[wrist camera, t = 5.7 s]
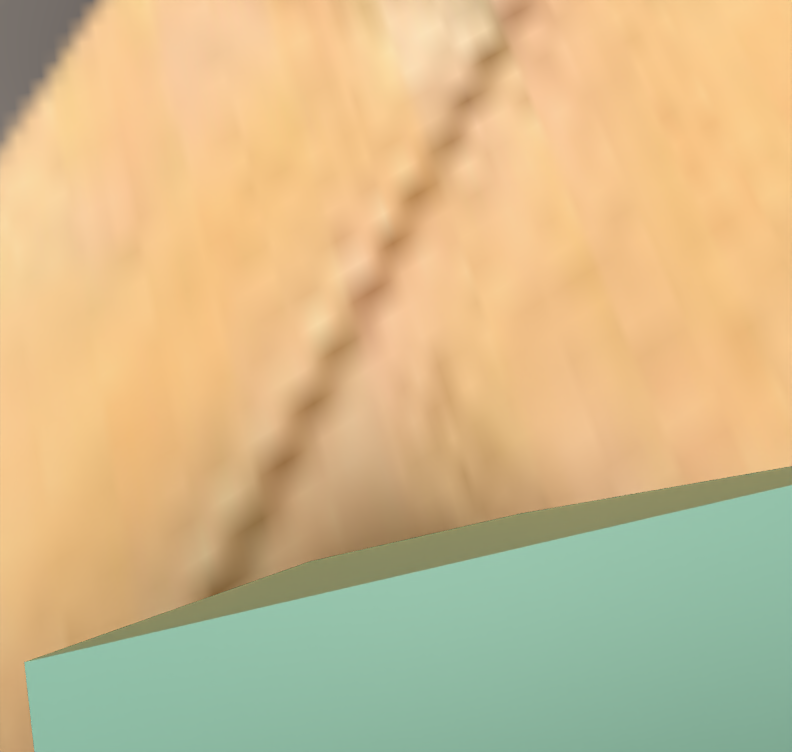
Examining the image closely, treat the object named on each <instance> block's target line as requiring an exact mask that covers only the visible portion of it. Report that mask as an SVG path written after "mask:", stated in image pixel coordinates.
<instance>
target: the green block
mask: <svg viewBox="0 0 792 752" xmlns="http://www.w3.org/2000/svg"><path fill="white" fill-rule="evenodd" d="M24 663H25V672H26V681H27V690H28V699H29V708H30V717H31V726H32V735H33V744H34V752H792V466H791V467H785V468H779V469H773V470H768V471H762V472H756V473H751V474H745V475H739V476H733V477H728V478H722V479H716V480H710V481H705V482H699V483H693V484H687V485H682V486H676V487H670V488H664V489H659V490H653V491H647V492H642V493H636V494H630V495H624V496H619V497H613V498H607V499H601V500H596V501H590V502H584V503H578V504H573V505H567V506H561V507H555V508H550V509H544V510H538V511H533V512H527V513H521V514H516V515H512V516H508V517H503V518H499V519H494V520H490V521H486V522H481V523H477V524H472V525H468V526H464V527H459V528H455V529H450V530H446V531H442V532H437V533H433V534H428V535H424V536H420V537H415V538H411V539H406V540H402V541H398V542H393V543H389V544H384V545H380V546H376V547H371V548H367V549H362V550H358V551H354V552H349V553H345V554H341V555H336V556H332V557H327V558H323V559H319V560H314V561H310V562H307V563H304V564H301V565H299V566H296V567H293V568H290V569H287V570H284V571H282V572H279V573H276V574H273V575H270V576H267V577H265V578H262V579H259V580H256V581H253V582H250V583H248V584H245V585H242V586H239V587H236V588H233V589H231V590H228V591H225V592H222V593H219V594H216V595H214V596H211V597H208V598H205V599H202V600H199V601H197V602H194V603H191V604H188V605H185V606H182V607H180V608H177V609H174V610H171V611H168V612H165V613H163V614H160V615H157V616H154V617H151V618H149V619H146V620H143V621H140V622H137V623H134V624H132V625H129V626H126V627H123V628H120V629H117V630H115V631H112V632H109V633H106V634H103V635H100V636H98V637H95V638H92V639H89V640H86V641H83V642H81V643H78V644H75V645H72V646H69V647H66V648H64V649H61V650H58V651H55V652H52V653H49V654H47V655H44V656H41V657H38V658H35V659H32V660H30V661H27V662H24Z"/></svg>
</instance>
